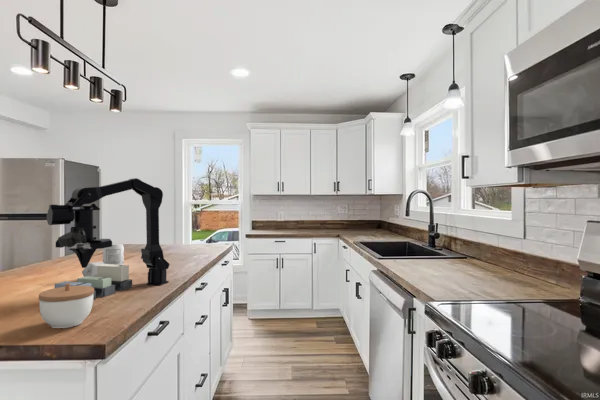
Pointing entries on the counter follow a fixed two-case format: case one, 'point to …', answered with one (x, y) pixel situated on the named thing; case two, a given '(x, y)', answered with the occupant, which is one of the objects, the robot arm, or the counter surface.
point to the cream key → (113, 272)
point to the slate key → (72, 284)
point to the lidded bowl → (66, 305)
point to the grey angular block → (91, 269)
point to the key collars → (112, 288)
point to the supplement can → (114, 254)
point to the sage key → (96, 281)
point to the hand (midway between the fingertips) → (84, 267)
